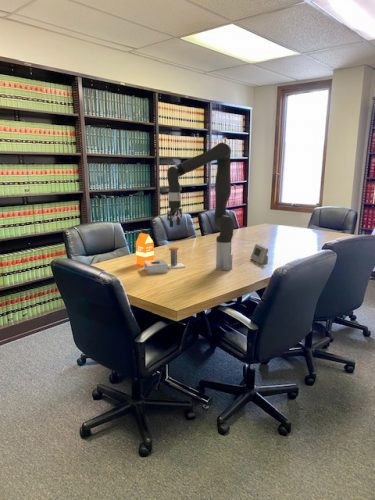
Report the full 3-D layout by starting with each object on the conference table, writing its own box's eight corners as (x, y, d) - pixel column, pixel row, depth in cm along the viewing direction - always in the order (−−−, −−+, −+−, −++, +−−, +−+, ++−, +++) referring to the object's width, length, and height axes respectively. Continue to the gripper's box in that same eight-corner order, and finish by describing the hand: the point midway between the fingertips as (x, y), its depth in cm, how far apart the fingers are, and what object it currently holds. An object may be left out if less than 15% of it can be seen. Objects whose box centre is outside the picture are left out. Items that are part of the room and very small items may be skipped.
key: (178, 264, 235) (178, 247, 232) (175, 266, 231) (175, 249, 229) (172, 264, 237) (172, 247, 234) (169, 265, 233) (169, 248, 231)
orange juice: (145, 266, 236) (144, 235, 231) (136, 263, 241) (135, 233, 237) (154, 263, 241) (153, 233, 237) (145, 261, 247) (144, 232, 242)
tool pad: (181, 264, 239) (181, 263, 239) (185, 267, 232) (184, 266, 232) (166, 265, 236) (166, 264, 236) (169, 268, 229) (169, 267, 229)
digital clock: (250, 258, 252) (250, 243, 250) (263, 258, 253) (263, 243, 250) (255, 265, 236) (256, 248, 234) (269, 264, 237) (270, 248, 234)
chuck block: (163, 267, 233) (162, 259, 232) (167, 272, 222) (167, 264, 220) (144, 268, 229) (144, 261, 228) (148, 274, 218) (147, 266, 217)
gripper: (174, 201, 217) (174, 228, 220) (185, 199, 229) (185, 224, 233) (163, 200, 220) (163, 227, 224) (175, 198, 232) (175, 224, 236)
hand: (175, 226), depth 228 cm, fingers open, 8 cm apart
